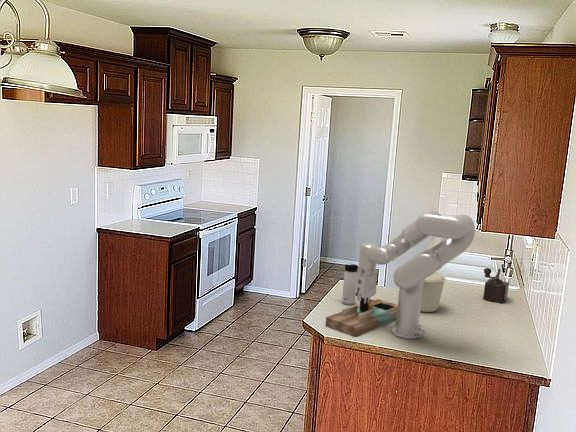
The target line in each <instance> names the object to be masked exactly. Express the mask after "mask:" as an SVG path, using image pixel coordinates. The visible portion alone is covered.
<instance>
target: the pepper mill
mask: <svg viewBox="0 0 576 432" xmlns="http://www.w3.org/2000/svg"><path fill="white" fill-rule="evenodd" d="M492 271H493V270H492V269H491V268H489V267H485V268H484V269H483V273H484V278H489V279H487V281H486V282H485V283H484V289H483V290H484V291H483V298H482V300H484V301H487V302H492V303H496V304H502V305H503V304H505V303H506V302H507V300H508V296H509V295H508V294H509V287H510V282H508V281H504V280H502V279H500V274H501V269H499V268H498V269H497V272H496V275H495V276H491V273H492Z"/></svg>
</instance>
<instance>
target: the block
mask: <svg viewBox="0 0 576 432" xmlns="http://www.w3.org/2000/svg"><path fill="white" fill-rule="evenodd" d="M374 300H375V299H371V298H370V300H369V303H368V310H373V306H374ZM358 306H359V308H360V303H359V305H358Z"/></svg>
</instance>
